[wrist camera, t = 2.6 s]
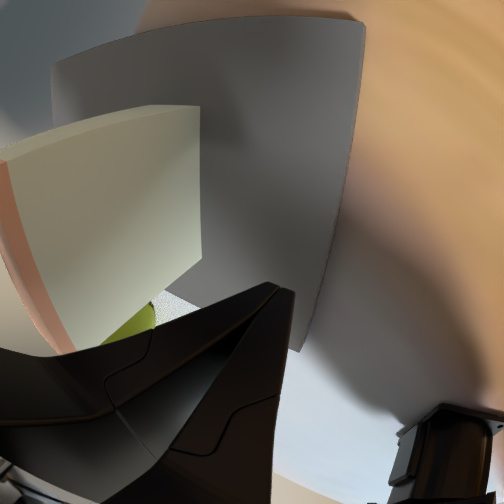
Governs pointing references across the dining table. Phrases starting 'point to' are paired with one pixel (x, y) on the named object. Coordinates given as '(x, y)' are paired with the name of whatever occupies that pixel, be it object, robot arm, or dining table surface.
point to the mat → (243, 138)
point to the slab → (100, 218)
